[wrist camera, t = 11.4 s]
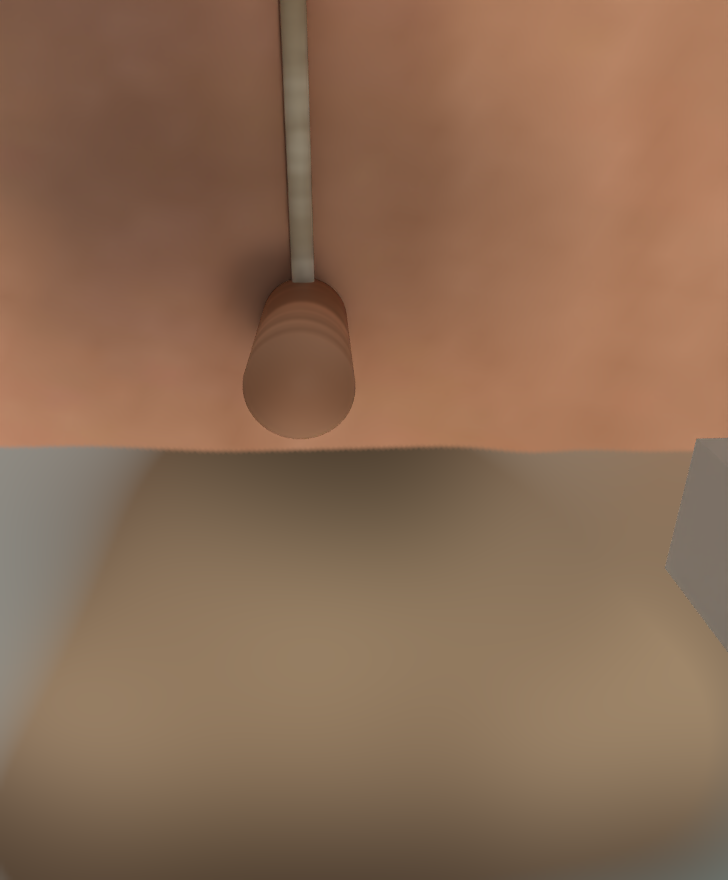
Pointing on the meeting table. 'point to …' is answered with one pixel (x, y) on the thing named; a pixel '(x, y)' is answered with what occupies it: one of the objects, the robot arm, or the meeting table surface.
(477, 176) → the meeting table surface
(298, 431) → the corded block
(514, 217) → the meeting table surface
